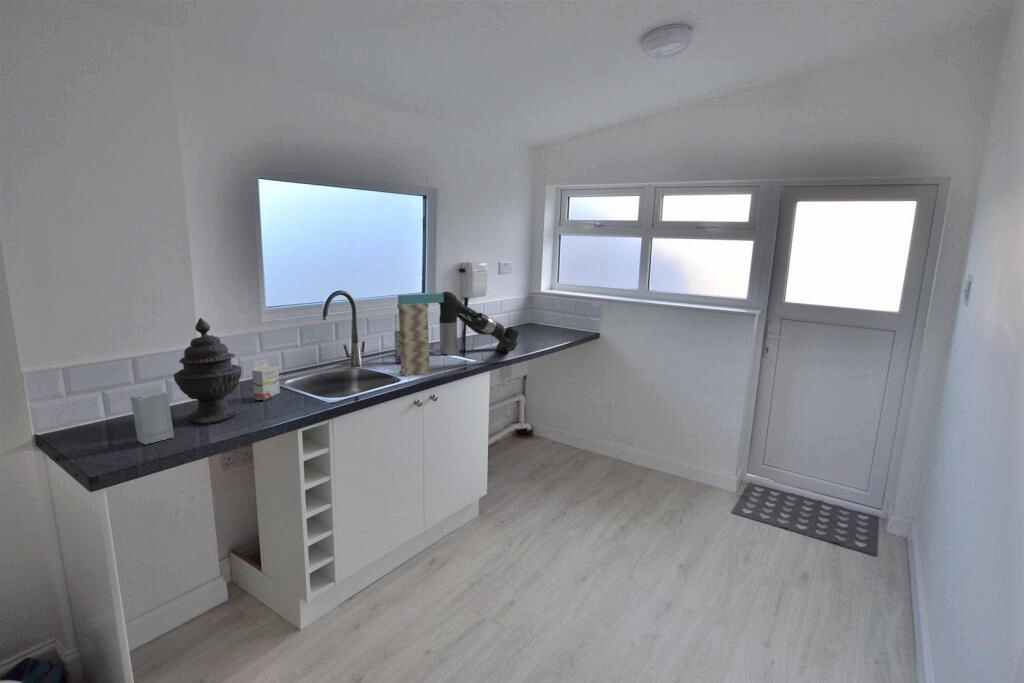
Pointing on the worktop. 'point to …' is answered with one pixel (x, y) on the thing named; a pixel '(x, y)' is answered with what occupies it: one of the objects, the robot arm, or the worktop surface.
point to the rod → (420, 298)
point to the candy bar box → (397, 346)
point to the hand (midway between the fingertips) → (457, 308)
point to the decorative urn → (208, 376)
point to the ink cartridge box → (265, 379)
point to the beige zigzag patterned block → (414, 339)
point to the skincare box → (152, 416)
